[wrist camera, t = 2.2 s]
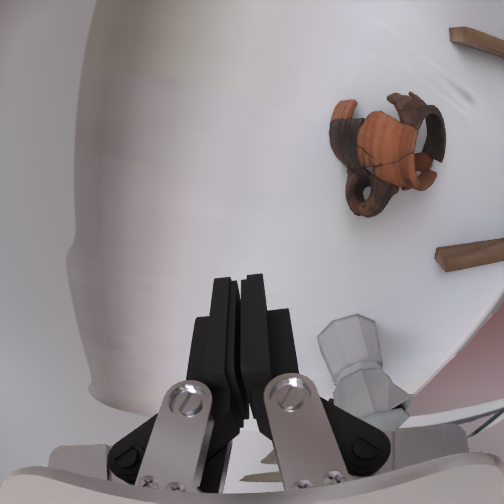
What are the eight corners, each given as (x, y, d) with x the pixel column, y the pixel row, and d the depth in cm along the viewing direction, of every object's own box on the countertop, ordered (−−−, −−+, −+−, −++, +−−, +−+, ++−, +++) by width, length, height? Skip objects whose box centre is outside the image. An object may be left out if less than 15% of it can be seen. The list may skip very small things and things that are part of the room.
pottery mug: (340, 68, 22) (421, 72, 16) (391, 112, 28) (458, 127, 22) (296, 191, 25) (373, 225, 19) (357, 213, 31) (420, 243, 25)
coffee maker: (352, 294, 35) (400, 428, 20) (397, 314, 38) (446, 427, 22) (287, 364, 42) (300, 479, 27) (333, 375, 44) (353, 478, 29)
